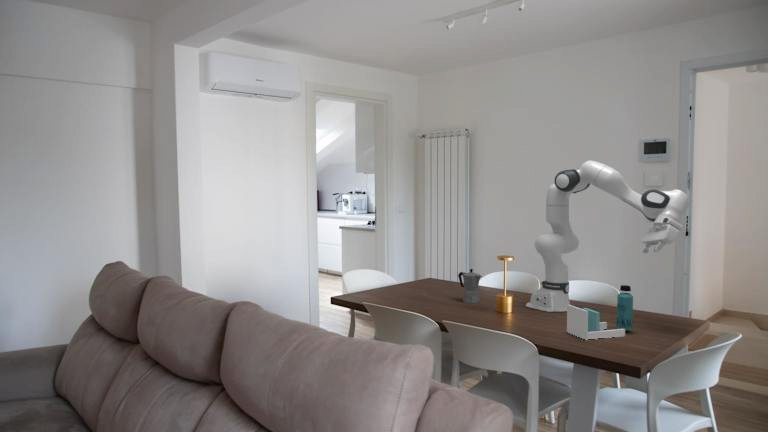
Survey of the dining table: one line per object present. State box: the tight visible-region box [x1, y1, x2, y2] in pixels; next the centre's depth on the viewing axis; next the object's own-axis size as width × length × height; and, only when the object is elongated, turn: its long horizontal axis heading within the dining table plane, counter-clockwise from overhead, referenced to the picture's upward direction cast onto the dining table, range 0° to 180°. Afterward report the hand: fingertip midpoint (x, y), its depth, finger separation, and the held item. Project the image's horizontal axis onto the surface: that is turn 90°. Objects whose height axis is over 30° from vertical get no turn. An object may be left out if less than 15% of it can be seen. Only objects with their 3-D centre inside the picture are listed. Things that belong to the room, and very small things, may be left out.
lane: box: [566, 304, 626, 341], centre depth 222 cm, size 19×12×12 cm, turn 105°
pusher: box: [582, 307, 601, 332], centre depth 222 cm, size 2×9×10 cm, turn 15°
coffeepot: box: [457, 268, 482, 304], centre depth 288 cm, size 15×9×18 cm, turn 44°
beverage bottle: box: [615, 284, 634, 331], centre depth 226 cm, size 6×7×20 cm
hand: (650, 252), depth 224 cm, fingers open, 8 cm apart
